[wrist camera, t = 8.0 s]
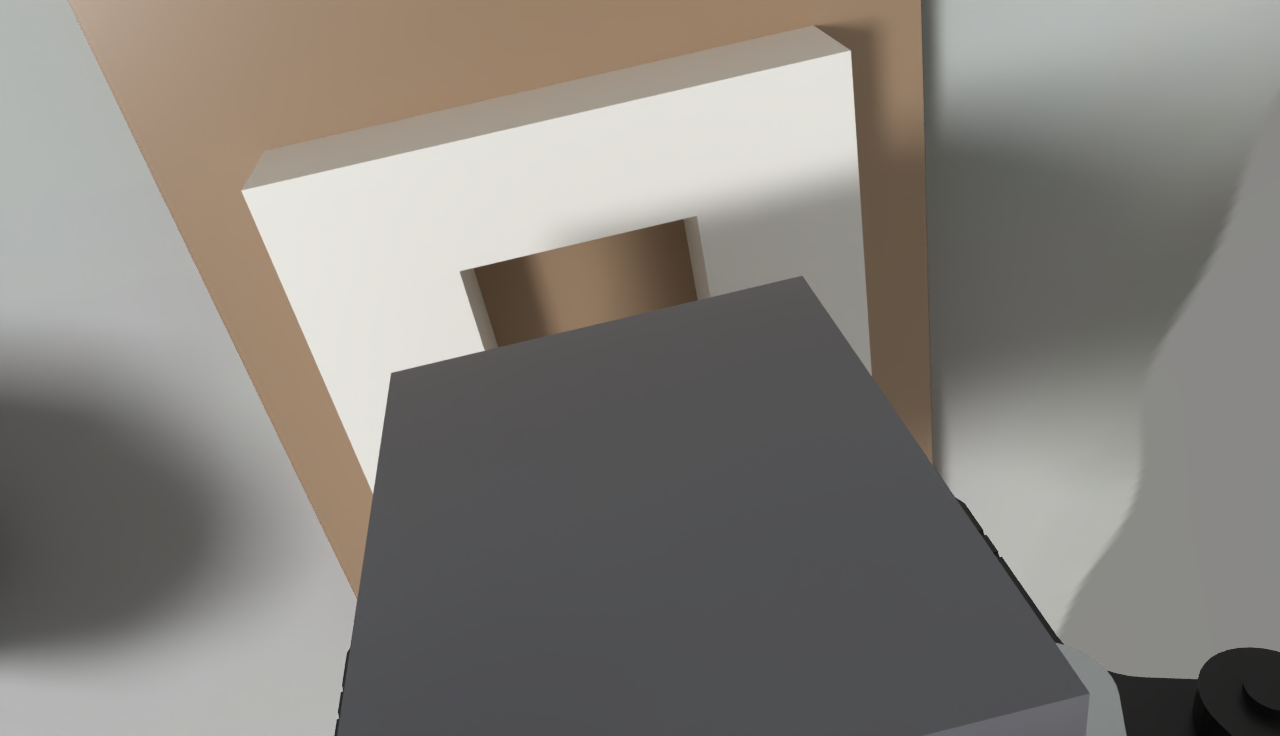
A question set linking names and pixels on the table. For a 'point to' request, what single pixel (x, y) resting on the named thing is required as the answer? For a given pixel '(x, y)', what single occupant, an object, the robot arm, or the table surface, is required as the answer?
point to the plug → (682, 547)
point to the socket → (519, 184)
